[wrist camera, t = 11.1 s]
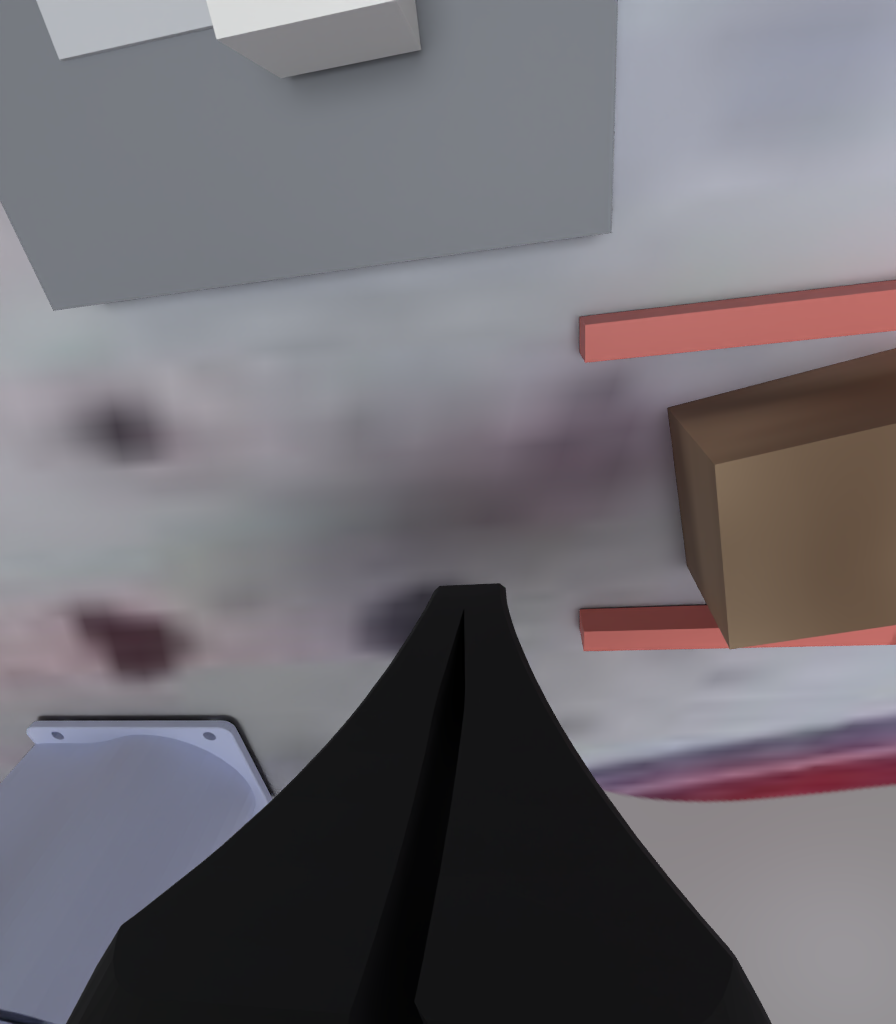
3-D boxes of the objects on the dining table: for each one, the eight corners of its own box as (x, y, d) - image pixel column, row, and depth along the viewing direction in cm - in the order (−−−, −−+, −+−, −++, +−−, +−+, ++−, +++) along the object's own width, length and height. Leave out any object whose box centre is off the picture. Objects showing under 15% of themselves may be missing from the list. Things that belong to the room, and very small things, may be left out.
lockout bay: (579, 628, 16) (583, 651, 16) (579, 316, 12) (585, 325, 11) (897, 619, 15) (920, 644, 14) (1043, 262, 10) (1092, 267, 9)
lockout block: (685, 561, 15) (730, 649, 12) (665, 405, 13) (714, 465, 10) (879, 525, 14) (981, 612, 11) (895, 345, 12) (1032, 392, 9)
